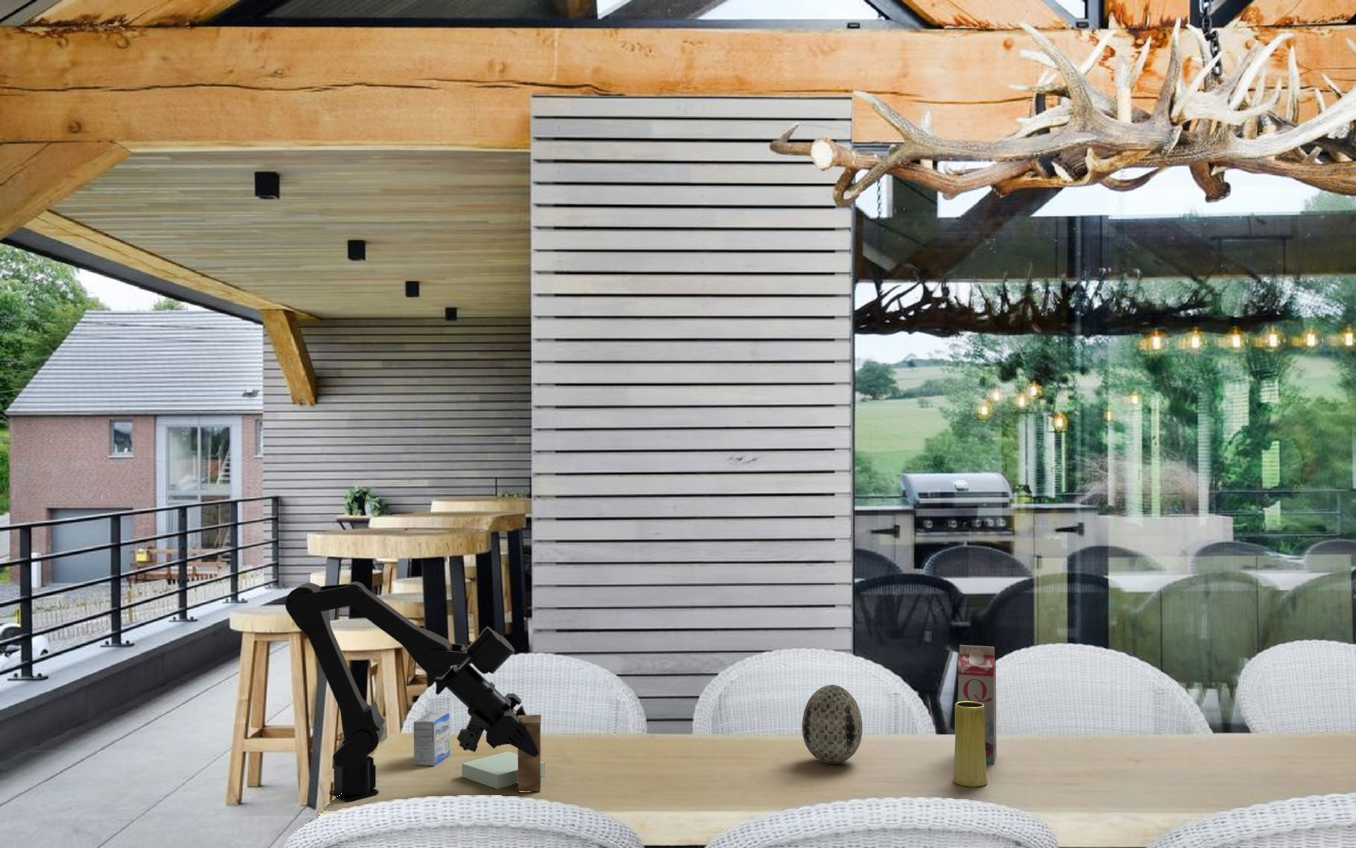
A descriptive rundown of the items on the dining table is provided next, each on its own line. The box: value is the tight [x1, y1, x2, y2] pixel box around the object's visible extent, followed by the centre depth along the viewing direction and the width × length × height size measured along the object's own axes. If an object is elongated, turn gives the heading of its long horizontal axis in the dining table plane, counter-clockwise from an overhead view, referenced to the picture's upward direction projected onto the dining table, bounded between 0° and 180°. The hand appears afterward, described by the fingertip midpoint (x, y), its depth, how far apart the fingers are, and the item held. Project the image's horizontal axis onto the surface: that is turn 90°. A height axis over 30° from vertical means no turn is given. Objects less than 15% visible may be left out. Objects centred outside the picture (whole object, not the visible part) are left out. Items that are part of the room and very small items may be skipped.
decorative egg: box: [801, 684, 864, 765], centre depth 227 cm, size 12×12×15 cm
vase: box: [952, 701, 988, 788], centre depth 214 cm, size 6×6×14 cm
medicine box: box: [413, 711, 451, 767], centre depth 231 cm, size 8×4×9 cm, turn 168°
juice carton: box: [957, 644, 997, 765], centre depth 230 cm, size 7×7×22 cm
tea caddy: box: [517, 714, 542, 792], centre depth 213 cm, size 4×6×12 cm
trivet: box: [461, 751, 546, 790], centre depth 220 cm, size 11×11×2 cm
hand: (537, 751), depth 213 cm, fingers closed on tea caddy, 5 cm apart
